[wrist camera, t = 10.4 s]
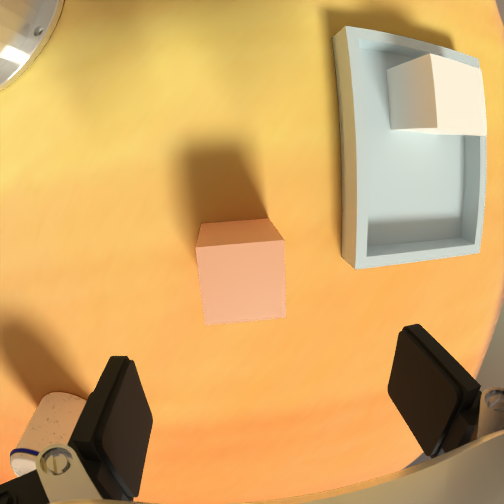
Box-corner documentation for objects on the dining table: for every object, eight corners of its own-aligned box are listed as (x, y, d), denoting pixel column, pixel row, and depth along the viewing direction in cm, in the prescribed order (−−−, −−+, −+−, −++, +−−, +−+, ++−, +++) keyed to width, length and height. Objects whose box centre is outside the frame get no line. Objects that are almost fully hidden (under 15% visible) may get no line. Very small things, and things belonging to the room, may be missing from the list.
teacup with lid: (25, 390, 24) (-20, 468, 13) (89, 384, 24) (49, 484, 13) (81, 460, 28) (60, 534, 17) (144, 459, 28) (132, 546, 17)
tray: (331, 37, 18) (345, 25, 15) (459, 63, 19) (478, 58, 16) (341, 256, 23) (355, 269, 20) (460, 243, 24) (479, 252, 21)
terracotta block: (201, 223, 21) (195, 247, 16) (268, 217, 21) (284, 239, 16) (208, 285, 22) (205, 325, 17) (271, 280, 23) (285, 317, 18)
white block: (386, 70, 18) (430, 53, 13) (434, 79, 19) (481, 69, 13) (390, 129, 20) (437, 127, 14) (438, 134, 20) (487, 136, 15)
